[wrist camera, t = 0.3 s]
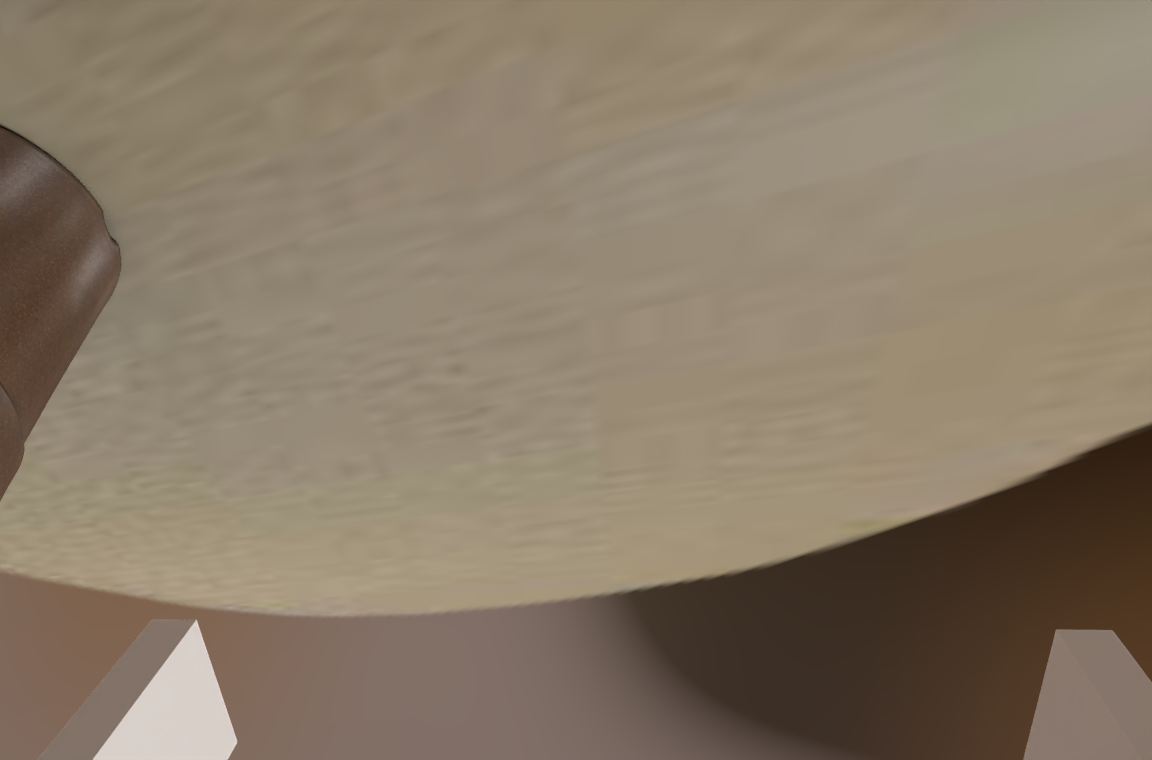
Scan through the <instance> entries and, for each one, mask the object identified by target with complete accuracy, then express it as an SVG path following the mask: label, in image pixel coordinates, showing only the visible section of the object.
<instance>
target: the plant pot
mask: <svg viewBox="0 0 1152 760" xmlns="http://www.w3.org/2000/svg"><path fill="white" fill-rule="evenodd" d="M120 271H121V256H120V248H119V245H118V244H117V243H116V242H115V241H113V240H112V239H111V237H110V235H109V232H108V229H107V227H106V224H105V221H104V215H103V210H102V208H101V207H100V206H99V204H98V203H97V201H96V200H95V199H94V197H93V196H92V195H91V194H90V193H89V192H88V190H87V189H86V188H85V187H84V186H83V185H82V184H81V183H80V182H79V181H78V179H76V178H75V177H74V176H73V175H72V174H71V173H70V172H69V171H68V170H66V169H65V168H64V167H63V166H62V165H61V164H59V163H58V162H57V161H56V160H54V159H53V158H52V157H50V156H49V155H48V154H46V153H45V152H43V151H42V150H40V149H39V148H37V147H36V146H34V145H33V144H31V143H29V142H28V141H26V140H25V139H23V138H21V137H19V136H17V135H16V134H14V133H12V132H10V131H8V130H6V129H3V128H1V127H0V500H1V499H2V497H3V495H4V493H5V491H6V489H7V488H8V486H9V484H10V483H11V481H12V479H13V477H14V476H15V474H16V472H17V471H18V469H19V467H20V465H21V462H22V459H23V455H24V443H25V441H26V439H27V438H28V436H29V434H30V432H31V431H32V429H33V427H34V425H35V424H36V422H37V420H38V418H39V417H40V415H41V413H42V411H43V409H44V408H45V406H46V404H47V402H48V401H49V399H50V397H51V395H52V394H53V392H54V390H55V389H56V387H57V385H58V383H59V382H60V380H61V378H62V377H63V375H64V373H65V372H66V370H67V368H68V366H69V365H70V363H71V361H72V360H73V358H74V356H75V355H76V353H77V351H78V350H79V348H80V346H81V345H82V343H83V341H84V340H85V338H86V336H87V335H88V333H89V331H90V330H91V328H92V326H93V325H94V323H95V321H96V319H97V318H98V316H99V314H100V313H101V311H102V310H103V308H104V306H105V305H106V303H107V302H108V300H109V299H110V297H111V296H112V294H113V292H114V289H115V287H116V285H117V282H118V279H119V275H120Z"/></svg>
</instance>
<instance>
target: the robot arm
mask: <svg viewBox="0 0 1152 760" xmlns="http://www.w3.org/2000/svg"><path fill="white" fill-rule="evenodd" d="M236 744H237V739H236V737H235V734H234V730H233V727H232V725H231V721H230V718H229V715H228V712H227V710H226V706H225V704H224V701H223V698H222V695H221V692H220V689H219V686H218V683H217V680H216V677H215V674H214V671H213V668H212V665H211V662H210V659H209V656H208V653H207V650H206V647H205V644H204V641H203V638H202V635H201V632H200V629H199V626H198V623H197V620H167V619H152V620H151V621H150V622H149V623H148V625H147V626H146V627H145V628H144V629H143V631H142V632H141V633H140V634H139V636H138V637H137V638H136V639H135V640H134V642H133V643H132V644H131V645H130V647H129V648H128V649H127V650H126V651H125V653H124V654H123V655H122V656H121V658H120V659H119V660H118V661H117V663H116V664H115V665H114V666H113V667H112V669H111V670H110V671H109V672H108V674H107V675H106V676H105V677H104V678H103V680H102V681H101V682H100V683H99V684H98V686H97V687H96V688H95V689H94V691H93V692H92V693H91V694H90V695H89V697H88V698H87V699H86V700H85V702H84V703H83V704H82V705H81V707H80V708H79V709H78V710H77V711H76V713H75V714H74V715H73V716H72V718H71V719H70V720H69V721H68V722H67V724H66V725H65V726H64V727H63V729H62V730H61V731H60V732H59V733H58V735H57V736H56V737H55V739H54V740H53V741H52V742H51V743H50V745H49V746H48V747H47V748H46V749H45V751H44V752H43V753H42V754H41V755H40V757H39V758H38V759H37V760H228V758H229V756H230V754H231V753H232V751H233V749H234V747H235V745H236ZM1023 760H1152V683H1151V681H1150V680H1149V678H1148V677H1147V676H1146V674H1145V673H1144V672H1143V670H1142V669H1141V668H1140V666H1139V665H1138V664H1137V662H1136V661H1135V660H1134V658H1133V657H1132V656H1131V654H1130V653H1129V652H1128V650H1127V649H1126V648H1125V646H1124V645H1123V644H1122V642H1121V641H1120V640H1119V638H1118V637H1117V636H1116V634H1115V633H1114V632H1113V631H1112V630H1056V632H1055V636H1054V640H1053V644H1052V648H1051V653H1050V656H1049V660H1048V664H1047V668H1046V672H1045V676H1044V680H1043V684H1042V688H1041V692H1040V696H1039V700H1038V704H1037V708H1036V712H1035V716H1034V720H1033V724H1032V728H1031V732H1030V735H1029V739H1028V744H1027V747H1026V751H1025V756H1024V759H1023Z"/></svg>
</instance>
